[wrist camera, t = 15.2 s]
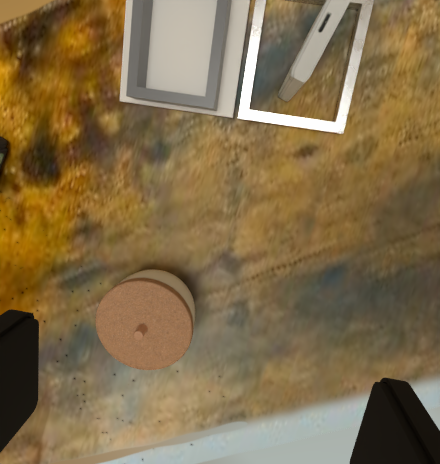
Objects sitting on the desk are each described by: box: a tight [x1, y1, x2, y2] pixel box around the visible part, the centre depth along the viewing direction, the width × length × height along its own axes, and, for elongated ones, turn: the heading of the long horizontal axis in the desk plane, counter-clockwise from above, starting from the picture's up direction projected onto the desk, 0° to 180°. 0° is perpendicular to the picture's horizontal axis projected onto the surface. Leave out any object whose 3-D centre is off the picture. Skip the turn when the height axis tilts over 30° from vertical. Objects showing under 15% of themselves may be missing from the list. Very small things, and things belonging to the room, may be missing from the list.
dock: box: [120, 0, 251, 118], centre depth 35 cm, size 13×13×4 cm
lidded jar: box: [96, 269, 196, 370], centre depth 40 cm, size 11×11×9 cm
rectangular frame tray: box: [238, 0, 374, 134], centre depth 36 cm, size 11×13×2 cm
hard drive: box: [278, 0, 351, 102], centre depth 30 cm, size 2×8×12 cm, turn 153°
